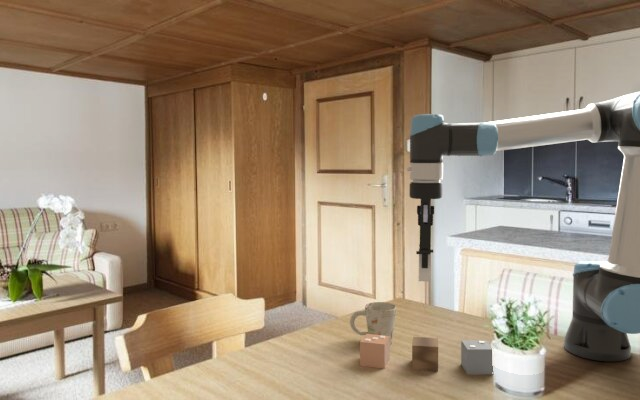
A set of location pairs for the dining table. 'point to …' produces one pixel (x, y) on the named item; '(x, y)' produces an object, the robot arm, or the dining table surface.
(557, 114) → the robot arm
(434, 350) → the walnut block
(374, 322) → the mug
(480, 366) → the slate block
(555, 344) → the dining table surface
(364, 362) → the terracotta block
